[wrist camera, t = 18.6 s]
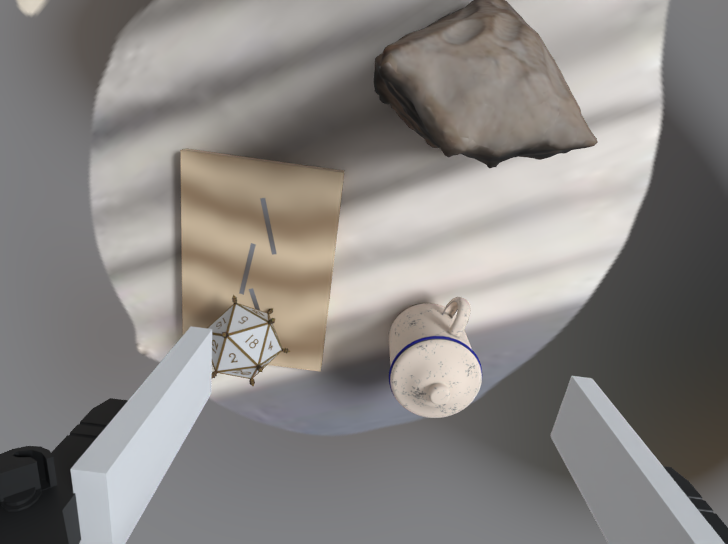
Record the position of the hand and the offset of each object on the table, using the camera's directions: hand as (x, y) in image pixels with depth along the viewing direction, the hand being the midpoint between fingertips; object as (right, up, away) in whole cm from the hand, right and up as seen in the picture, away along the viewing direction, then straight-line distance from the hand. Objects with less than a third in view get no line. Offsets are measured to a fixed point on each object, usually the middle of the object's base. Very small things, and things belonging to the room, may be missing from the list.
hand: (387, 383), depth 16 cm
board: (-12, +5, +32) cm, 35 cm away
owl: (+8, +22, +26) cm, 35 cm away
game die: (-13, -2, +33) cm, 36 cm away
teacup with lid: (+7, -2, +35) cm, 35 cm away
